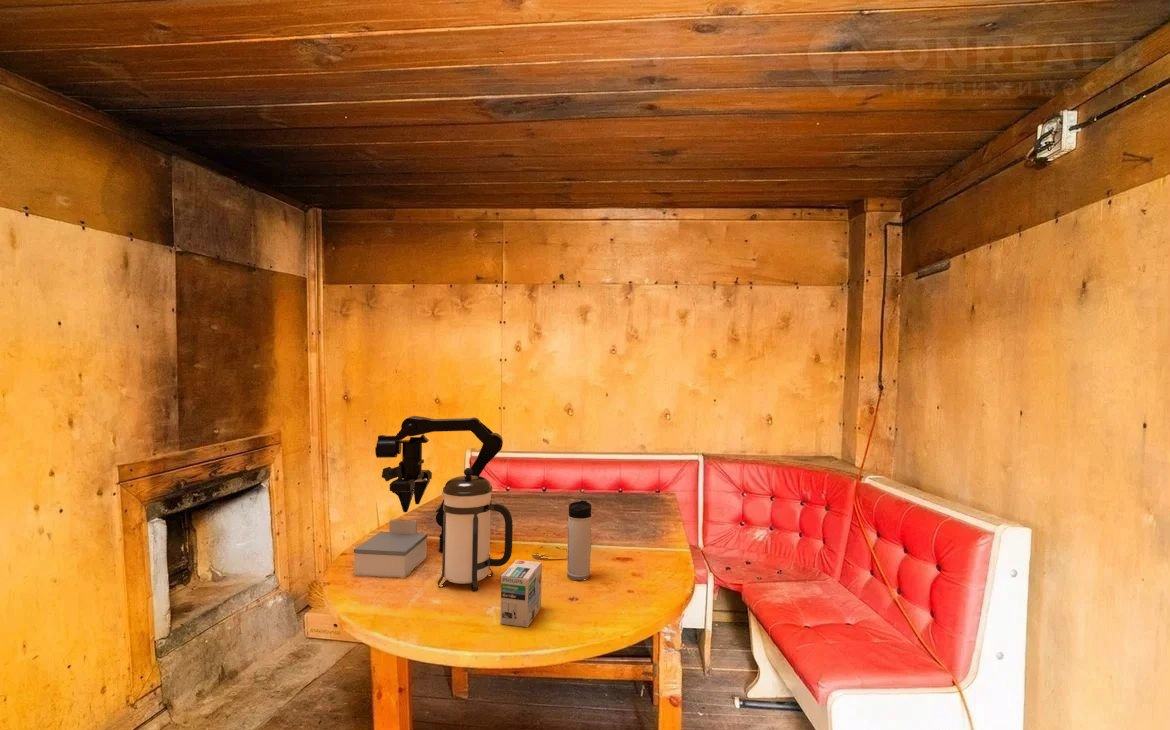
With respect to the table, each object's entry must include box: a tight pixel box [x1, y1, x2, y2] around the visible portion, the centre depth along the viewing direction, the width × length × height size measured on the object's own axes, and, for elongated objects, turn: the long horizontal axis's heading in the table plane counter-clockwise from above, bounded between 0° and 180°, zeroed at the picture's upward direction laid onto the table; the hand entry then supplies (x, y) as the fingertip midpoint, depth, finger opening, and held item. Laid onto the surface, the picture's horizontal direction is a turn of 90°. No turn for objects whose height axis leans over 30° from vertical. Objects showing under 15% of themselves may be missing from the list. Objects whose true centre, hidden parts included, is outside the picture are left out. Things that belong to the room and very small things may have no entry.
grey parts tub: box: [353, 537, 428, 579], centre depth 147 cm, size 14×15×6 cm
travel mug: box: [566, 499, 592, 581], centre depth 143 cm, size 6×7×20 cm
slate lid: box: [353, 518, 428, 555], centre depth 147 cm, size 14×15×5 cm
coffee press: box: [436, 467, 514, 592], centre depth 138 cm, size 17×16×30 cm
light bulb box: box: [500, 559, 543, 628], centre depth 120 cm, size 11×7×11 cm, turn 168°
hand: (411, 508), depth 161 cm, fingers open, 9 cm apart
